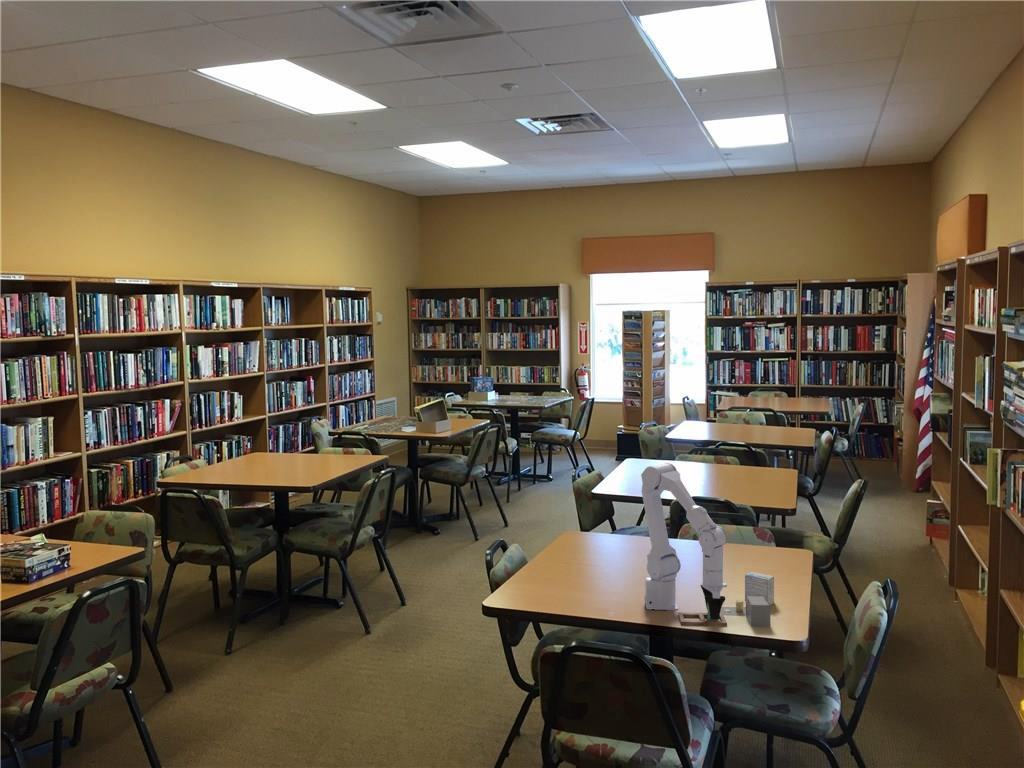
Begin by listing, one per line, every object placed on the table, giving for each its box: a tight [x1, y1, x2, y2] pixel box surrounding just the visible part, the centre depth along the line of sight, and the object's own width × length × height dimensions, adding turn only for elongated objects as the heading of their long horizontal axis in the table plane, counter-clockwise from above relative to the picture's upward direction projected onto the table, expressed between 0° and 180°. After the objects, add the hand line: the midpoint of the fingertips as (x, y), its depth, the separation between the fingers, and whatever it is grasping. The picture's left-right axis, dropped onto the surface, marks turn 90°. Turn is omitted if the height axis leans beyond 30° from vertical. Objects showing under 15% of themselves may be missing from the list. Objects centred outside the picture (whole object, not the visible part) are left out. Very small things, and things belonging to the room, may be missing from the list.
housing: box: [745, 596, 772, 628], centre depth 233 cm, size 8×5×6 cm
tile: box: [720, 599, 746, 617], centre depth 242 cm, size 9×7×3 cm
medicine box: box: [744, 571, 775, 605], centre depth 250 cm, size 8×4×9 cm, turn 48°
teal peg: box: [706, 602, 720, 621], centre depth 234 cm, size 3×3×6 cm
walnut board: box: [677, 611, 728, 627], centre depth 234 cm, size 13×8×1 cm, turn 84°
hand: (712, 614), depth 234 cm, fingers open, 7 cm apart
